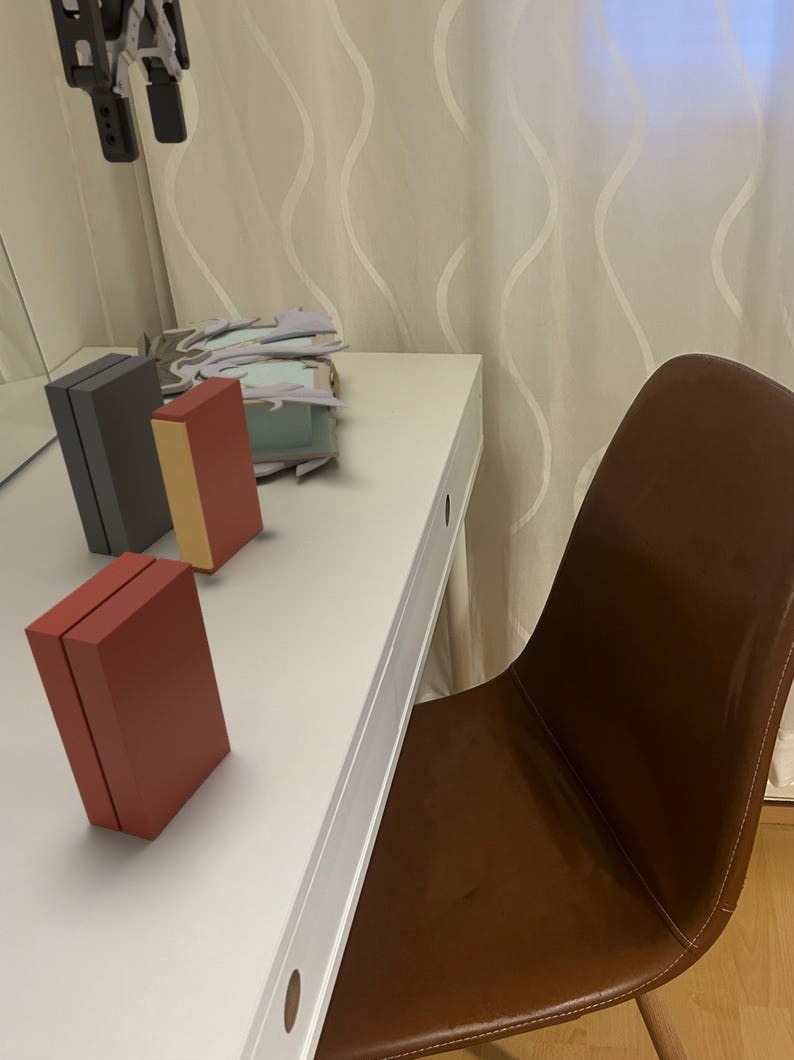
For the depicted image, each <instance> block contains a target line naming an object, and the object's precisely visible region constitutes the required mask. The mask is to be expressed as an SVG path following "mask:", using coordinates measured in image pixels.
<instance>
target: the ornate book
mask: <svg viewBox="0 0 794 1060" xmlns="http://www.w3.org/2000/svg"><path fill="white" fill-rule="evenodd" d="M335 316H336V313H335V314H334V313H327V312H326V310H322V311H321V310H320V311H309V312H308V311H307V312H306V311H303V307H302V305H298V306H296V307H293V308H290V309H288V310H286V311H283V312H280V313H278V314H276V315H274V316H273V318H274V319H273V320H274V322H269V323H268V322H265V323H258V322H260V321H262V318H261V316H250V317H245V318H244V317H243V318H238V319H233V320H229V319H230V318H226V317H210V318H205V319H200V320H195V321H192V322H188V324H189V325H192V324H197V323H202V322H207V321H218V322H216V323H215V324H212V325H209V326H192V327H184V328H182V327H181V328H171V329H167V330H163V331H161V334H160V335H156V336H155V337H154V338H153V340H152V342H151V341H150V338H149V337H148V335H147V334H146V332H145V331H144V330H143V331H142V333H141V334H140V335H139V337H138V338H137V340H136V345H137V346H136V347H137V356H144V357H153V358H155V361H156V366H157V370H158V375H159V380H160V385H161V390H162V395H163V399H164V404H167V403H169V402H170V401H172V400H174V399H175V398H177V397H179V396H180V395H182V394H184V393H185V392H187V391H189V390H190V389H192V388H194V387H195V386H197V385H198V384H200V383H202V382H203V381H205V380H207V379H208V378H210V377H212V376H214V377H223V378H232V379H240V384H241V391H242V397H243V403H244V409H245V416H246V422H247V428H248V434H249V441H250V447H251V453H252V459H253V466H254V472H255V478H259V477H265V476H269V475H271V474H273V473H277V472H278V471H280V470H285V469H289V468H292V467H294V466H296V471H295V476H296V478H298V477H300V476H302V475H304V474H306V473H308V472H310V471H312V470H315V469H316V468H318V467H320V466H322V465H324V464H326V463H327V462H328V461H329V460H330V459H331V458H337V457H340V449H339V446H338V442H337V438H336V426H337V419H336V418H334V417H332V413H334V412H335V411H337V408H347V409H353V407H352V406H350V405H348V404H347V403H345V402H344V401H342V400H340V399H341V396H340V391H341V385H340V377H339V372H338V371H337V369H336V366H335V364H334V362H333V361H332V356H331V355H330V354H335V353H338V352H341V351H344V350H347V349H348V348H350V344H344V345H340V344H342V343H343V340H342V339H339V340H332V341H328V339H327V337H326V335H338V333H339V332H338V330H337V328H336V327H335V325H334V323H333V322H332V321H333V320H334V317H335ZM150 342H151V343H150Z"/></svg>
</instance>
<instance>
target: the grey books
mask: <svg viewBox="0 0 794 1060" xmlns="http://www.w3.org/2000/svg"><path fill="white" fill-rule="evenodd" d="M43 389H44V392H45V396H46V400H47V403H48V406H49V410H50V413H51V418H52V421H53V423H54V428H55V432H56V435H57V440H58V442H59V447H60V450H61V454H62V457H63V460H64V461H63V462H64V464H65V468H66V471H67V475H68V478H69V483H70V486H71V489H72V490H71V491H72V493H73V497H74V500H75V504H76V507H77V511H78V515H79V518H80V521H81V526H82V529H83V532H84V537H85V540H86V543H87V547H88V551H89V552H91V553H98V554H103V555H108V556H110V555H111V556H113V557H119V556H121V555H122V554H123V553H125V552H131V553H136V554H141V553H142V552H143V551H145V550H146V549H147V548H148V547H149V546H151V545H152V544H153V543H155V542H156V541H157V540H158V539H160V538H161V537H163V536H164V535H165V534H167V533H168V532H169V531H171V529H174V525H173V520H172V516H171V511H170V507H169V502H168V497H167V493H166V488H165V484H164V479H163V474H162V470H161V465H160V461H159V456H158V452H157V447H156V442H155V438H154V433H153V429H152V424H151V420H152V419H153V415H152V412H154V411H155V410H157V409H159V408H160V407H162V406H164V405H165V404H164V399H163V395H162V390H161V385H160V380H159V375H158V370H157V366H156V361H155V358H153V357H144V356H138V355H131V354H124V353H114V352H110V353H108V354H105V355H104V356H101V357H99V358H98V359H96V360H94V361H91V362H90V363H88V364H85V365H84V366H82V367H79V368H78V369H77V368H76V369H75V370H73V371H71V372H69V373H67V374H65V375H63V376H61V377H59V378H57V379H54V380H52V381H51V382H49V383H47V384H45V385H44V386H43Z"/></svg>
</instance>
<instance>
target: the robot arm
mask: <svg viewBox="0 0 794 1060" xmlns="http://www.w3.org/2000/svg"><path fill="white" fill-rule="evenodd" d="M49 2H50V7H51V12H52V18H53V23H54V28H55V31H56V38H57V43H58V48H59V53H60V58H61V63H62V68H63V73H64V78H65V81H66V84H67V85H68V87H69V88H71V89H80V90H82V93H83V94H84V95H85V97H90V100H91V105H92V111H93V114H94V118H95V123H96V124H95V125H96V129H97V132H98V137H99V138H98V139H99V142H100V146H101V151H102V152H101V153H102V157H103V158H104V160H105V161H107V162H108V163H115V164H116V163H121V164H122V163H123V164H125V163H133V162H136V161H138V160H139V158H140V149H139V144H138V139H137V134H136V128H135V124H134V118H133V114H132V108H131V104H130V103H131V102H130V98H129V97H128V96H126V94H127V90H128V89H127V87H128V75H129V67H130V66H131V65H132V64H135V62H136V64H137V67H138V68H139V70H140V73H141V75H142V76H143V79H144V80H145V82H146V83H148V84H145V91H146V95H147V101H148V106H149V111H150V112H149V113H150V117H151V123H152V129H153V133H154V139H155V140H156V141H157V142H158V143H160V144H181V143H185V142H186V141H187V139H188V132H187V125H186V120H185V114H184V108H183V102H182V95H181V89H180V83H182V81H183V71H188V70H190V67H191V59H190V53H189V49H188V43H187V37H186V31H185V26H184V21H183V15H182V9H181V3H180V0H49ZM76 16H78V17H77V18H76ZM78 52H79V54H80V56H81V57H82V60H81V61H82V62H81V64H80V62H79V56H78Z"/></svg>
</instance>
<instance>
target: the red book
mask: <svg viewBox="0 0 794 1060" xmlns="http://www.w3.org/2000/svg"><path fill="white" fill-rule="evenodd" d="M152 415H153V419H152V420H151V424H152V429H153V433H154V438H155V442H156V447H157V452H158V456H159V461H160V465H161V470H162V474H163V479H164V484H165V488H166V493H167V497H168V502H169V507H170V511H171V516H172V520H173V525H174V527H173V529H174V534H175V539H176V542H177V548H178V551H179V558H180V561H181V562H187V563H191V564H192V567H193V571H197V572H201V573H207V574H214V573H215V572H216V571H218V569H220V568H221V567H222V566H223V565H224V564H225V563H226V562H228V561H229V560H230V558H232V557H233V556H234V555H235V554H236V553H237V552H238V551H240V550H241V549H242V548H243V547H245V545H247V544H248V543H249V542H250V541H251V540H253V538H254V537H255V536H257V535H258V534H259V533H260V532H261V531H262V530H263V529H264V523H263V517H262V510H261V504H260V497H259V491H258V486H257V485H258V484H257V479H256V478H257V477H255V472H254V466H253V459H252V453H251V447H250V441H249V434H248V428H247V422H246V416H245V409H244V403H243V397H242V391H241V384H240V379H232V378H223V377H214V376H212V377H210V378H208V379H207V380H205V381H203V382H202V383H200V384H198V385H197V386H195V387H194V388H192V389H190V390H189V391H187V392H185V393H184V394H182V395H180V396H179V397H177V398H175V399H174V400H172V401H170V402H169V403H167V404H165V405H164V406H162V407H160V408H159V409H157V410H155V411H154V412H152Z"/></svg>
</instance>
